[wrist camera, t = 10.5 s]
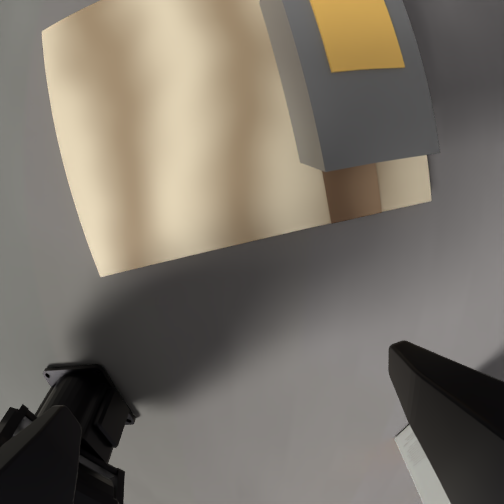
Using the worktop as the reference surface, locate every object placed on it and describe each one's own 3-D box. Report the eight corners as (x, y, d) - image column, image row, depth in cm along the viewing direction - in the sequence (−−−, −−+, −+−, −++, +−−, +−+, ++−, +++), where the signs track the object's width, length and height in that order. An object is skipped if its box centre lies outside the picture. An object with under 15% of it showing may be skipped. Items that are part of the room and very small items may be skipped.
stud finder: (299, 162, 15) (326, 172, 11) (259, 3, 12) (266, -47, 8) (388, 147, 15) (442, 153, 10) (348, -4, 12) (384, -46, 7)
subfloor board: (106, 270, 18) (100, 277, 17) (49, 35, 13) (40, 31, 12) (423, 197, 17) (432, 201, 16) (363, -40, 12) (369, -47, 11)
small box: (392, 437, 25) (426, 519, 15) (431, 400, 24) (478, 482, 14) (434, 443, 27) (466, 509, 17) (467, 410, 25) (509, 476, 15)
